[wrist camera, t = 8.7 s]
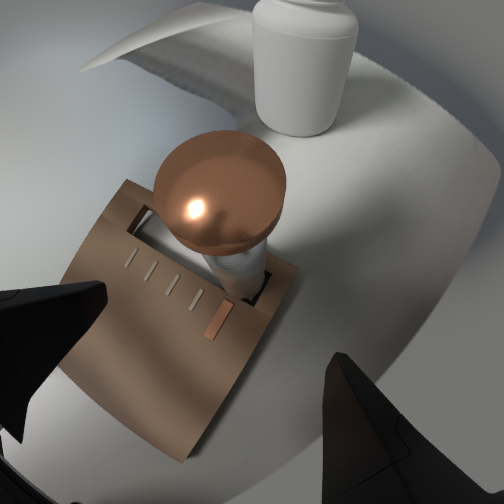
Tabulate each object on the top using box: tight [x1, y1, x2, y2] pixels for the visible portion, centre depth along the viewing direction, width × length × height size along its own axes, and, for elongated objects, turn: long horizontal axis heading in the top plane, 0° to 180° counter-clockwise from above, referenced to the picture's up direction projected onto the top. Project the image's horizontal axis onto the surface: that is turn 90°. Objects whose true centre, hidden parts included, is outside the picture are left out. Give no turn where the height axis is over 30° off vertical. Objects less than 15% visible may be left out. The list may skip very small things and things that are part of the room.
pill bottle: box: [252, 0, 359, 137], centre depth 18 cm, size 8×8×15 cm
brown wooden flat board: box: [57, 179, 299, 463], centre depth 19 cm, size 16×16×1 cm
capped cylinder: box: [153, 130, 286, 302], centre depth 14 cm, size 4×4×13 cm
